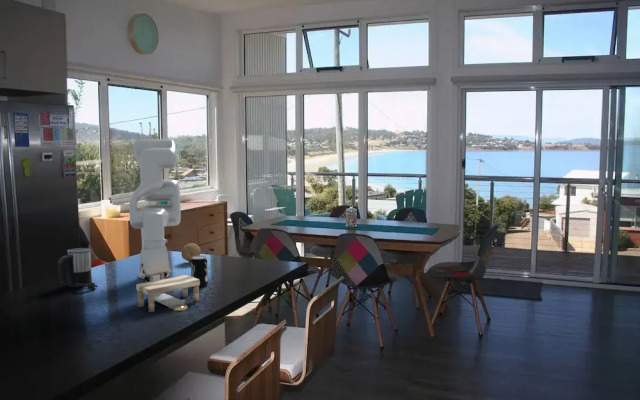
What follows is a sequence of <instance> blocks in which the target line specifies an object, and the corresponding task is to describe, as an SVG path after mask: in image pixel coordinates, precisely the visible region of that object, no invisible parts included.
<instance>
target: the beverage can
mask: <svg viewBox="0 0 640 400" xmlns="http://www.w3.org/2000/svg"><path fill="white" fill-rule="evenodd" d="M208 274H209V273H208V259H207V256H205V255H200V256H194V257H192V260H191V263H190V276H191V277H194V278H196V279H199V280H200V285H199V289H200V288H205V287H207V286H208V284H209V281H208V280H209V279H208V278H209V277H208V276H209V275H208Z"/></svg>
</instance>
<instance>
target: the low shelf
mask: <svg viewBox="0 0 640 400" xmlns="http://www.w3.org/2000/svg"><path fill="white" fill-rule="evenodd" d="M199 285H200V280H199V279H196V278H194V277H191V275H187V274H183V275H177V276H173V277H166V278H165V279H162V280H157V281H152V282H146V281H145V282H142V283H137V284H135V286H136V288H135V289H136V291H137V307H138V308H142V307H145V302H144V301H145V300H144V297H145V296H144V294H145V295H147V300H148V301H147V303H148V308H147V309H148V313H154V312H156V311H155V301H154V295H155V294H160V293H161V294H163V293H168V292H172V291H177V290H182V297H183V298H185V297H186V298H187V297H188V295H189V288H192V287H193V288H192V289H193V290H192V291H193V301H194V302H199V301H200V288H199Z"/></svg>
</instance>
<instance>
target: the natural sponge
mask: <svg viewBox="0 0 640 400" xmlns="http://www.w3.org/2000/svg"><path fill="white" fill-rule="evenodd" d="M201 253H202V252H201V247H200V246H199V244H196V243H192V242H189V243H187V244H185V245H184V246H183V247H182V248H181V258H182V259H184V261H187V262H188V263H189V264H191V260H192V257H194V256H201Z"/></svg>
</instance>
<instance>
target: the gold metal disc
mask: <svg viewBox="0 0 640 400" xmlns="http://www.w3.org/2000/svg"><path fill="white" fill-rule="evenodd" d="M185 310H188V305H187V304H186V303H185V304H177V305H174V306H173V308H172V311H175V312H182V311H185Z"/></svg>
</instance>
